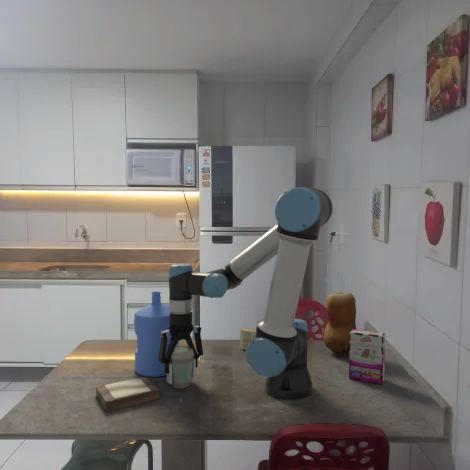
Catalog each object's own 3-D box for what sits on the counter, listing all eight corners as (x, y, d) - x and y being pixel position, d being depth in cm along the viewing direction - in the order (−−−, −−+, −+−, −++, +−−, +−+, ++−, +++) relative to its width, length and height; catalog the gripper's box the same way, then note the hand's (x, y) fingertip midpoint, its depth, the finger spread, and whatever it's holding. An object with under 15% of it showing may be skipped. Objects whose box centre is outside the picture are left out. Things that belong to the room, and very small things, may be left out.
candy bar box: (384, 379, 146) (385, 332, 145) (382, 385, 142) (384, 336, 141) (351, 373, 151) (352, 328, 150) (348, 379, 147) (349, 331, 146)
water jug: (187, 367, 157) (187, 291, 155) (157, 381, 144) (156, 299, 142) (156, 358, 166) (155, 286, 164) (125, 371, 153) (124, 293, 151)
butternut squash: (317, 349, 177) (318, 289, 175) (347, 346, 180) (348, 287, 179) (334, 361, 163) (335, 296, 162) (365, 358, 167) (366, 294, 165)
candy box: (277, 354, 171) (277, 334, 170) (275, 356, 169) (275, 335, 169) (242, 347, 179) (242, 328, 179) (239, 349, 177) (239, 329, 177)
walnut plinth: (159, 398, 131) (159, 389, 131) (106, 411, 123) (106, 401, 123) (145, 384, 142) (145, 375, 141) (96, 395, 133) (96, 386, 133)
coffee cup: (189, 391, 137) (189, 354, 136) (164, 389, 138) (164, 352, 137) (197, 380, 145) (197, 345, 144) (173, 378, 147) (173, 344, 146)
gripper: (203, 305, 148) (203, 370, 150) (146, 312, 138) (147, 382, 139) (214, 309, 142) (214, 377, 144) (155, 318, 131) (155, 390, 133)
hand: (181, 379), depth 141 cm, fingers closed on coffee cup, 8 cm apart
